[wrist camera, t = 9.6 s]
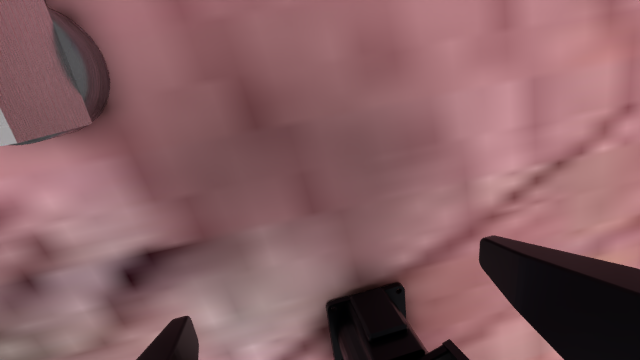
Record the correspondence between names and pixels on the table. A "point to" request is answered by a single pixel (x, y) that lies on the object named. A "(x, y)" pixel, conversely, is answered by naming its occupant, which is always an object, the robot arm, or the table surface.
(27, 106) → the socket
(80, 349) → the table surface
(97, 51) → the ratchet
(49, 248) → the table surface
